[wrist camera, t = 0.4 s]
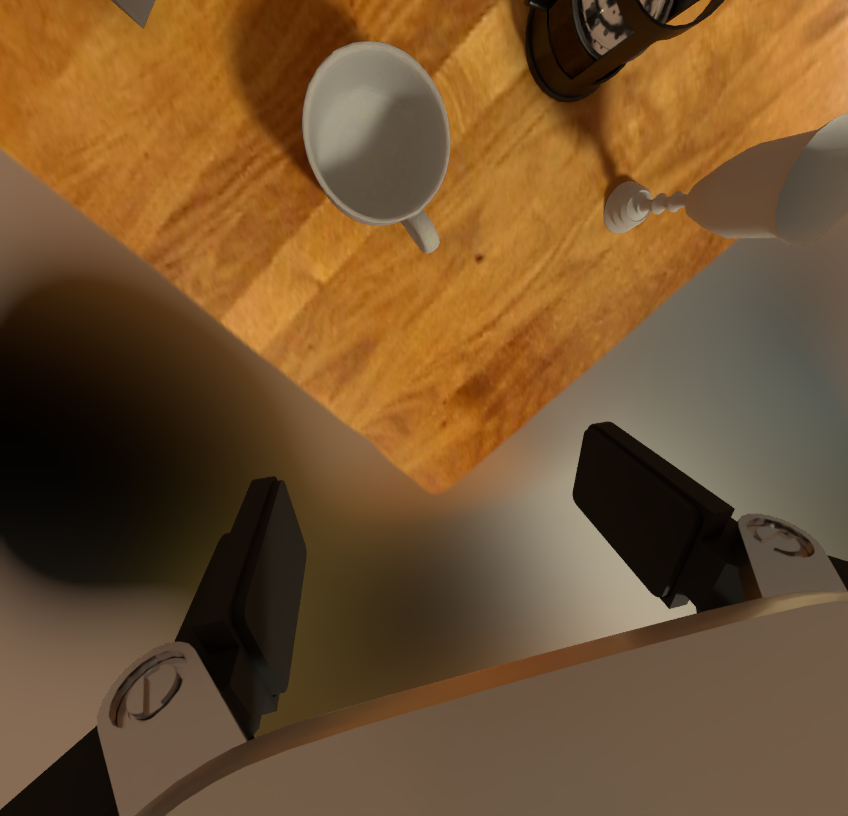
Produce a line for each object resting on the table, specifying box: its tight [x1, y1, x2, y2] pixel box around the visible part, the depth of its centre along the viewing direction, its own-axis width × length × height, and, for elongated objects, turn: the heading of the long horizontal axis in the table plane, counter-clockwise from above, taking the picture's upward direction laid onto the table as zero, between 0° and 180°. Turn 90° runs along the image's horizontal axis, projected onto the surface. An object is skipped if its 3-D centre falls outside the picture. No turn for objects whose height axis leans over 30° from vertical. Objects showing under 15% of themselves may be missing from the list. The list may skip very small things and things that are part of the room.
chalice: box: [604, 113, 848, 246], centre depth 29 cm, size 7×7×18 cm
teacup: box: [302, 41, 450, 254], centre depth 28 cm, size 14×11×8 cm
